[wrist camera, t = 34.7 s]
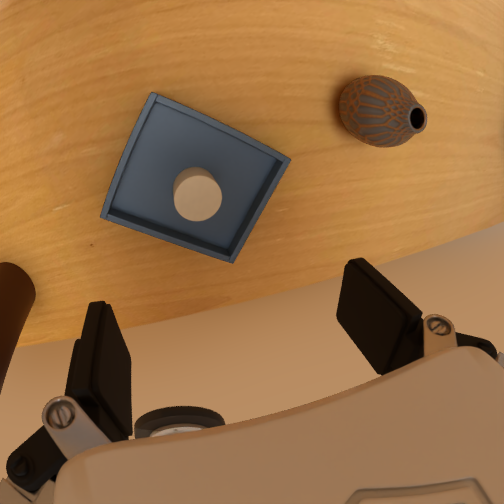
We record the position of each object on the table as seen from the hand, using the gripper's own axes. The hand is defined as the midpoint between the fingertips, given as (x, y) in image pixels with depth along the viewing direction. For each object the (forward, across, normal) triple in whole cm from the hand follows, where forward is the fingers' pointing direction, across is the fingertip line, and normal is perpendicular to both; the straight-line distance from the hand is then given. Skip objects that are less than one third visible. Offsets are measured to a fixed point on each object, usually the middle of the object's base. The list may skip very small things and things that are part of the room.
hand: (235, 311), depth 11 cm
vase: (+17, -17, -7) cm, 25 cm away
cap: (+17, 0, 0) cm, 17 cm away
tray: (+17, 0, -1) cm, 17 cm away
